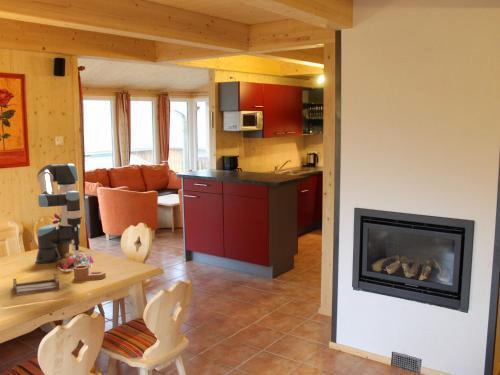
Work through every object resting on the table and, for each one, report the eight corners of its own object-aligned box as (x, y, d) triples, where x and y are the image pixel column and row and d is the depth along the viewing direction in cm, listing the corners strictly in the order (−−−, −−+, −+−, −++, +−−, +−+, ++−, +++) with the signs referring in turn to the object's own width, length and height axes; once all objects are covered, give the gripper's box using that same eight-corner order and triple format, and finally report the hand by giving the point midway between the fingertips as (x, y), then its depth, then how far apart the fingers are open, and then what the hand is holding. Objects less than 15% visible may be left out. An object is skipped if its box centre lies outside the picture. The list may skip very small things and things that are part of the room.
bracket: (73, 280, 291) (72, 269, 290) (75, 276, 300) (75, 265, 299) (104, 279, 294) (104, 267, 293) (106, 275, 302) (106, 263, 301)
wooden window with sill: (13, 286, 281) (13, 278, 280) (57, 281, 290) (56, 273, 290) (13, 296, 265) (13, 287, 265) (59, 289, 275) (59, 281, 274)
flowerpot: (74, 252, 356) (72, 210, 352) (68, 257, 342) (66, 214, 338) (54, 252, 355) (51, 211, 351) (47, 257, 341) (44, 214, 337)
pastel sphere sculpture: (50, 265, 323) (50, 252, 322) (85, 259, 339) (85, 246, 338) (65, 274, 305) (64, 259, 304) (101, 267, 320) (101, 253, 319)
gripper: (65, 214, 300) (67, 248, 303) (69, 221, 278) (71, 258, 280) (78, 213, 303) (79, 247, 306) (83, 220, 281) (85, 257, 284)
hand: (75, 252), depth 293 cm, fingers open, 13 cm apart
